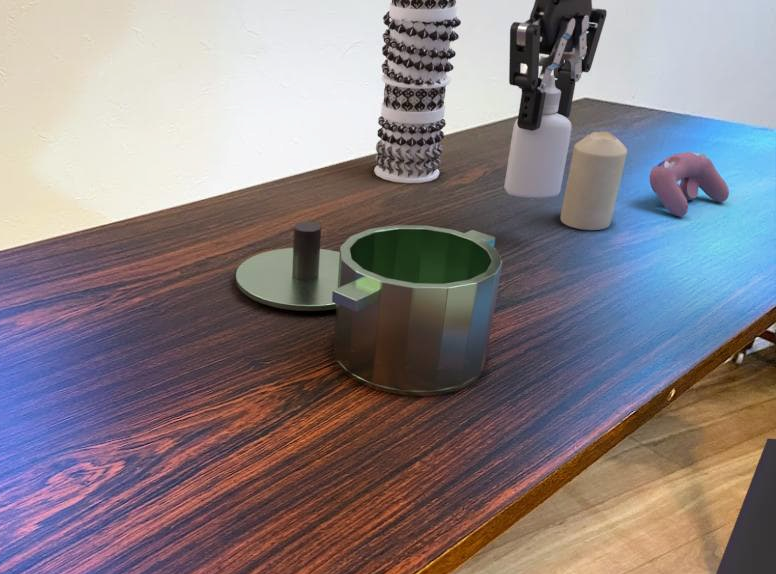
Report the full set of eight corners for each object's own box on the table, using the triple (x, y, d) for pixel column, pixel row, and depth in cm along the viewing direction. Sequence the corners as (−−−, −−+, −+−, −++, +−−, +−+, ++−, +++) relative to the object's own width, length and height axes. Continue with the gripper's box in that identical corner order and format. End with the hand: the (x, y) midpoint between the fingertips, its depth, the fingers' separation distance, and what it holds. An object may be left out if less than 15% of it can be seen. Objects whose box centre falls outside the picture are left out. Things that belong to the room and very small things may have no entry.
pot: (530, 349, 79) (550, 246, 74) (399, 427, 68) (412, 314, 63) (414, 302, 87) (425, 206, 81) (281, 366, 76) (284, 261, 71)
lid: (403, 287, 89) (409, 227, 86) (307, 331, 82) (310, 267, 78) (302, 247, 98) (305, 191, 94) (207, 284, 90) (206, 224, 87)
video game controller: (697, 206, 113) (688, 150, 111) (733, 199, 109) (724, 141, 107) (649, 222, 108) (638, 164, 107) (684, 216, 104) (674, 155, 103)
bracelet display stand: (407, 189, 114) (429, -31, 100) (356, 170, 120) (371, -39, 106) (457, 175, 118) (484, -37, 105) (405, 157, 124) (425, -45, 111)
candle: (613, 232, 101) (634, 143, 96) (562, 229, 102) (580, 140, 97) (606, 214, 106) (625, 128, 100) (557, 212, 107) (574, 126, 101)
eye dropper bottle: (510, 183, 99) (528, 69, 93) (563, 191, 97) (585, 74, 90) (499, 195, 96) (516, 77, 90) (552, 203, 94) (574, 83, 87)
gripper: (577, -70, 90) (547, 105, 99) (495, -61, 82) (471, 130, 91) (650, -66, 85) (612, 117, 94) (571, -55, 77) (537, 145, 86)
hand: (543, 122), depth 92 cm, fingers closed on eye dropper bottle, 5 cm apart
